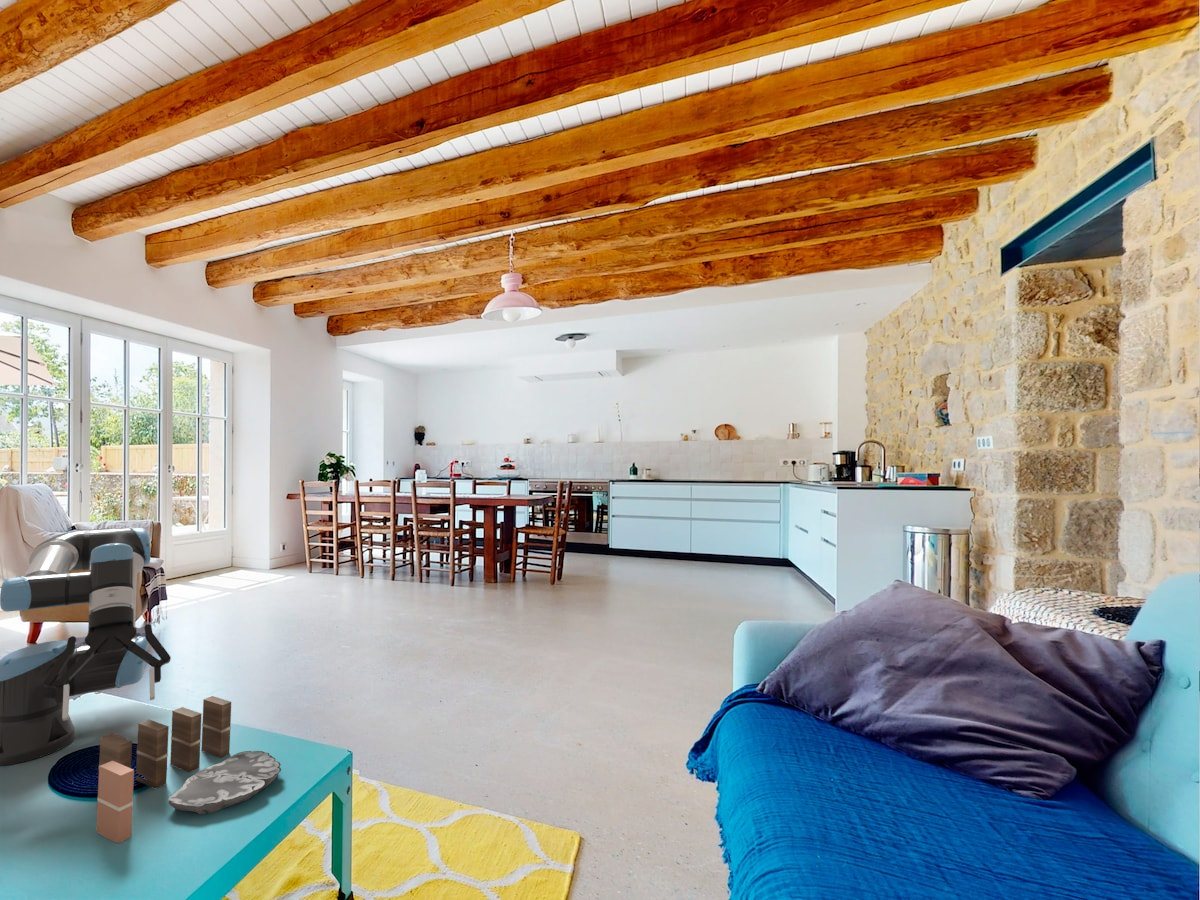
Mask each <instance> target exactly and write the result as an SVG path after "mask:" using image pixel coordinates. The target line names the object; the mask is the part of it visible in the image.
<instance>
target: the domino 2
mask: <svg viewBox="0 0 1200 900" xmlns="http://www.w3.org/2000/svg"><path fill="white" fill-rule="evenodd" d="M98 780H99V783H98V785H97V799H96V800H97V806H96V807H97V809H96V810H97V811H96V827H95V828H96V829H95V830H96V833H97V834H99V835H101V836H103V837H105V838H106V839H108V840H110V841H111V842H114V843H116V844H120V843H121V842H124V841H125V840H127V839H129V838H131V837H132V825H133V806H134V783H135V769H133V768H132V767H131V768H129V767H126V766H124V765H122V764H119V763H117V762H115V761H110V762H108V763H105V764H103V765H101V766H99V765H98Z"/></svg>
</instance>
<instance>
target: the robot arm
mask: <svg viewBox="0 0 1200 900" xmlns="http://www.w3.org/2000/svg"><path fill="white" fill-rule="evenodd" d="M28 562H29V565H28V568H27V570H26V571H25V573H24V574H23V575H21V576H16V577H9V578H6V579H5V580H3V581H2V584H1V587H0V609H1V610H2V611H3V612H19V611H20V612H26V611H29V610H30V611H31V610H40V609H47V608H48V609H49V608H56V607H64V606H65V607H66V606H75V605H77V606H78V605H85V604H88V612H89V615H88V631H87V635H86V636H82V637H81V636H80V637H76V636H70V637H68V639H67V640H63V639H61V640H51V641H45V642H41V643H36V644H33V645H29V646H25V647H23V648H20V649H17V650H14V651H12V652H10V653H8V654H6V655H4V656H3V657H2V658H1V659H0V766H7V765H15V764H20V763H23V762H27V761H28V762H29V761H31V760H35V759H38V758H41V757H45V756H47V755H49V754H53V753H55V752H56V751H59V750H61V749H62V748H65V747H66V746H68V745H70V743H71V742H72V741H73V740H74V739H75V725H74V723H73V721H72V718H71V716H70V713H69V712H70V711H69V709H70V708H69V707H70V697H75V696H80V695H84V694H85V695H86V694H90V693H96V692H101V691H107V690H112V689H120V688H123V687H126V686H130V685H134V684H138V682H140V681H141V680H142V679H143V677H144V674H145V671H146V667H147V665H149V666H150V667H149V670H148V671H149V672H148V674H149V701H153V700H155V699H156V698H155V697H156V696H155V695H156V693H155V684H156V683H160V682H161V679H162V667H163V666H164V665H166V664H169V663H170V662H171V658H172V657H171V655H170V654H169V652H168V651H167V650H166V649H165V647H164V646H163V645H162V643H161V642H160V641H159V640H158V638H157V637H156V636H155V633H153V628H152V625H151V624H149V623H148V624H146V625H144V626H141V627H138V626H136V621H137V619H136V616H137V592H138V591H137V590H138V589H137V588H138V587H137V586H138V573H141V571H142V570H143V568H144V566H147V565H149V564H150V562H151V545H150V536H149V532H148V531H147V529H146V528H143V527H131V526H129V527H123V528H104V529H102V528H100V529H98V528H97V529H79V530H72V531H71V530H70V531H68V532H67V531H66V532H64V533H61V534H57V535H55V536H52V537H51V538H48V539H46V540H44V541H43V542H40V544H38V545H37V546H36V547H35V548H34V549H33V550H32V552H31V553H30V555H29V558H28ZM74 571H76V572H74ZM150 646H151V648H152V649H153V650H154V652H155V653H156V654H157V656H158V657H159V658H160V659H158V658H157V657H155V656H154V655H152V654H151V653H149V649H150Z"/></svg>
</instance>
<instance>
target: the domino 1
mask: <svg viewBox="0 0 1200 900" xmlns="http://www.w3.org/2000/svg"><path fill="white" fill-rule="evenodd" d="M99 738H100V739H99V741H100V742H99V760H98V763H99V764H98V767H99V766H101V765H103V764H105V763H108V762H110V761H115V762H117V763H119V764H122V765H124V766H126V767H129V768H131V769H132V751H133V750H132V749H133V748H132V747H133V746H132V745H133V740H131V739H129V738H126V737H123V736H121V735H119V734H116V733H114V732H112V733H109V734H106V735H103V736H100V737H99ZM97 782H98V783H99V779H98V781H97Z"/></svg>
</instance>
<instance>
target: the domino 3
mask: <svg viewBox="0 0 1200 900" xmlns="http://www.w3.org/2000/svg"><path fill="white" fill-rule="evenodd" d="M137 724H138V725H137V746H136V747H137V748H136V767H135V768H136V769H135V771H136V772H135V774H136V773H137V774H139V775H142V776H143V777H145V778H146V779H147V780H146V779H143V778H141V777H139V776H136V775H135V781H136V782H139V783H141V784H143V785H146V786H148V787H150V788H153V789H155V790H156V789H158V788H160V787H164V785H166V784H167V774H168V773H167V772H168V771H167V770H168V757H169V752H168V749H169V748H168V747H169V728H170V727H169V726H168V725H166V724H163V723H160V722H157V721H154V720H152V719H146V720H144V721H141V722H139V723H137Z"/></svg>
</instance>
